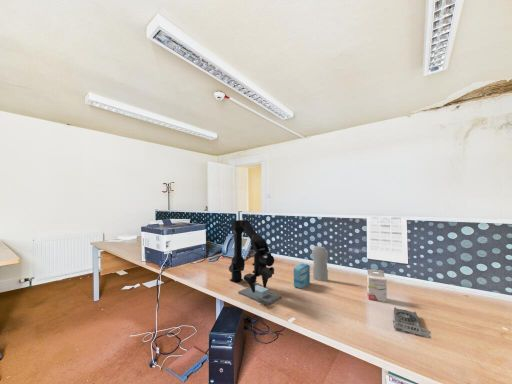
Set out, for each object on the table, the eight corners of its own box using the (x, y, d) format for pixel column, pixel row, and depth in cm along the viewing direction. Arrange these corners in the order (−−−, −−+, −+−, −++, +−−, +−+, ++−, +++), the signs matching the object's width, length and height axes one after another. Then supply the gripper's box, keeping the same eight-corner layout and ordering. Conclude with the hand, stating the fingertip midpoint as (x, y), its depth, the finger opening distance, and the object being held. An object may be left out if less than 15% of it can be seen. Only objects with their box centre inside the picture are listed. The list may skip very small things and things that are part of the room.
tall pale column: (311, 278, 145) (310, 245, 146) (313, 277, 149) (313, 244, 149) (327, 282, 139) (326, 247, 140) (329, 280, 143) (328, 246, 143)
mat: (238, 293, 125) (238, 291, 125) (252, 286, 134) (252, 285, 134) (267, 306, 110) (267, 304, 110) (281, 297, 118) (281, 296, 118)
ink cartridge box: (368, 299, 115) (368, 271, 116) (367, 295, 120) (366, 268, 120) (387, 302, 112) (386, 273, 113) (385, 298, 117) (384, 270, 117)
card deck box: (261, 297, 117) (261, 292, 117) (250, 293, 123) (250, 287, 123) (268, 294, 121) (268, 289, 121) (257, 290, 127) (257, 284, 127)
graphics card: (431, 331, 83) (393, 322, 89) (431, 341, 83) (393, 331, 89) (423, 311, 98) (392, 304, 104) (423, 320, 97) (392, 312, 103)
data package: (300, 289, 129) (299, 268, 129) (293, 287, 132) (293, 267, 132) (310, 283, 138) (309, 264, 138) (303, 281, 141) (303, 262, 141)
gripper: (258, 269, 110) (258, 300, 109) (280, 260, 123) (281, 288, 123) (243, 264, 117) (243, 293, 117) (265, 257, 131) (266, 283, 131)
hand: (259, 289), depth 122 cm, fingers open, 9 cm apart
